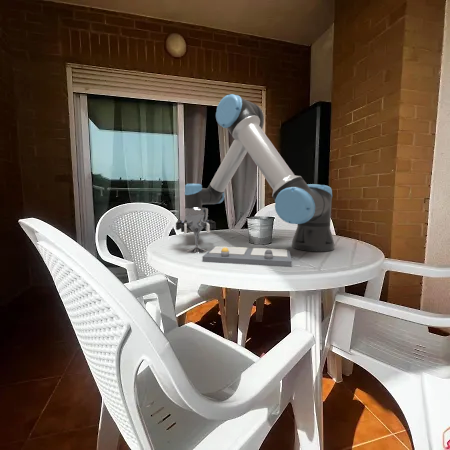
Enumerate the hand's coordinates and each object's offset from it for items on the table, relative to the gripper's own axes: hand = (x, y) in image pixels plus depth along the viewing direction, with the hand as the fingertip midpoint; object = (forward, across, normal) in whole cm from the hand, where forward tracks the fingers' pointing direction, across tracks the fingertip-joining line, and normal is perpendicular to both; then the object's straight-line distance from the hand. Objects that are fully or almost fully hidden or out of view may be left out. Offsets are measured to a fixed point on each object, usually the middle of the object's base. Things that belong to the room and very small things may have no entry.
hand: (197, 228), depth 89 cm
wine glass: (-5, 0, -9) cm, 10 cm away
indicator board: (+7, -16, -8) cm, 19 cm away
